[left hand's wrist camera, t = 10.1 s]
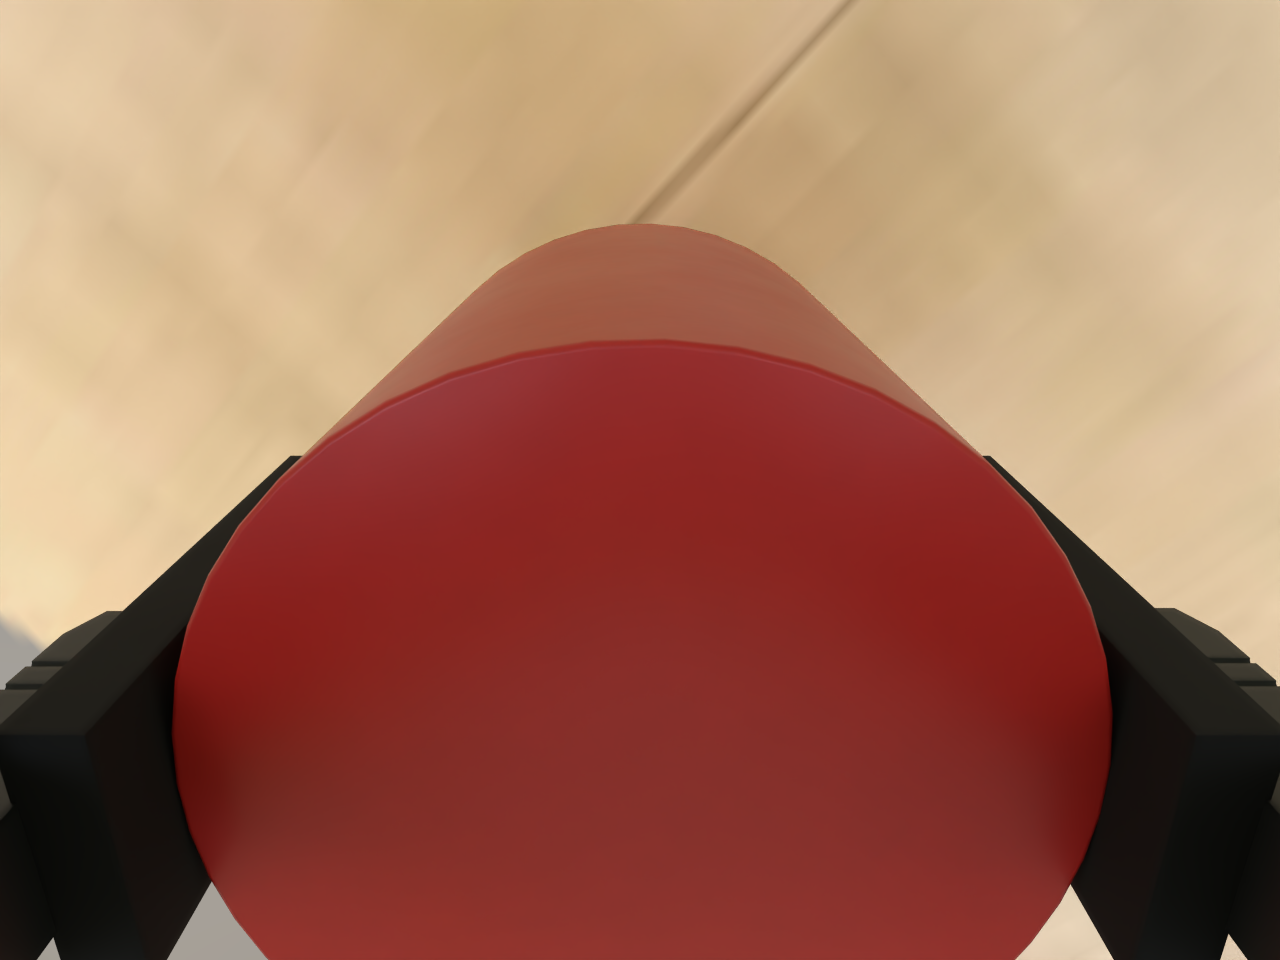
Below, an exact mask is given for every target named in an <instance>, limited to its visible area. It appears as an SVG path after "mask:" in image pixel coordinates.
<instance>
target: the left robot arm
mask: <svg viewBox="0 0 1280 960" xmlns="http://www.w3.org/2000/svg"><path fill="white" fill-rule="evenodd" d="M301 457H302V456H290V457H289V458H288V459H287V460H286V461H284V462H283V463H282V464H281V465H280V466H279V467H278V468H277V469H276V470H275V471H274V472H273V473H272V474H270V475H269V476H268V477H267V478H266V479H265V480H264V481H263V482H262V483H261V484H260V485H259V486H257V487H256V488H255V489H254V490H253V491H252V492H251V493H250V494H249V495H248V496H247V497H246V498H245V499H243V500H242V501H241V502H240V503H239V504H238V505H237V506H236V507H235V508H234V509H233V510H232V511H230V512H229V513H228V514H227V515H226V516H225V517H224V518H223V519H222V520H221V521H220V522H219V523H217V524H216V525H215V526H214V527H213V528H212V529H211V530H210V531H209V532H208V533H207V534H206V535H205V536H203V537H202V538H201V539H200V540H199V541H198V542H197V543H196V544H195V545H194V546H193V547H192V548H190V549H189V550H188V551H187V552H186V553H185V554H184V555H183V556H182V557H181V558H180V559H179V560H178V561H176V562H175V563H174V564H173V565H172V566H171V567H170V568H169V569H168V570H167V571H166V572H165V573H163V574H162V575H161V576H160V577H159V578H158V579H157V580H156V581H155V582H154V583H153V584H152V585H151V586H149V587H148V588H147V589H146V590H145V591H144V592H143V593H142V594H141V595H140V596H139V597H138V598H136V599H135V600H134V601H133V602H132V603H131V604H130V605H129V606H128V607H127V608H126V609H125V610H123V611H106V612H104V613H103V614H101V615H99V616H97V617H95V618H93V619H91V620H89V621H87V622H85V623H83V624H81V625H80V626H78V627H76V628H74V629H72V630H70V631H68V632H66V633H64V634H63V635H61V636H60V637H59V638H58V639H57V640H56V641H55V642H53V643H52V644H51V645H50V646H49V647H48V648H46V649H45V650H44V651H43V652H42V653H41V654H40V655H38V656H37V657H36V658H35V659H34V660H33V661H32V666H31V667H25V668H24V669H22V670H21V671H20V672H19V673H18V674H17V675H15V676H14V677H13V678H12V679H11V680H10V681H9V682H7V683H6V688H5V690H0V960H37V959H38V957H39V956H40V955H41V953H42V952H43V950H44V949H45V948H46V946H47V945H48V944H49V942H50V941H51V939H52V938H53V937H54V940H55V944H56V947H57V950H58V953H59V956H60V959H61V960H167V958H168V957H169V955H170V953H171V952H172V950H173V948H174V946H175V944H176V943H177V941H178V939H179V938H180V936H181V934H182V932H183V931H184V929H185V927H186V925H187V924H188V922H189V920H190V918H191V917H192V915H193V913H194V911H195V910H196V908H197V906H198V904H199V902H200V901H201V899H202V897H203V896H204V894H205V892H206V890H207V889H208V887H209V885H210V883H211V882H212V881H211V879H210V877H209V875H208V873H207V871H206V868H205V866H204V864H203V862H202V859H201V857H200V855H199V852H198V850H197V848H196V845H195V843H194V841H193V838H192V836H191V834H190V831H189V828H188V824H187V820H186V816H185V813H184V809H183V805H182V801H181V797H180V794H179V790H178V786H177V781H176V771H175V761H174V751H173V742H172V719H173V703H174V686H175V676H176V672H177V668H178V663H179V659H180V655H181V650H182V646H183V642H184V637H185V633H186V629H187V625H188V623H189V620H190V618H191V615H192V613H193V610H194V608H195V606H196V603H197V601H198V598H199V596H200V593H201V591H202V589H203V586H204V584H205V581H206V579H207V576H208V574H209V573H210V571H211V569H212V568H213V566H214V565H215V563H216V561H217V560H218V558H219V556H220V555H221V553H222V552H223V550H224V548H225V547H226V545H227V543H228V542H229V540H230V539H231V537H232V535H233V534H234V532H235V531H236V529H237V527H238V526H239V524H240V523H241V522H242V521H243V520H244V519H245V517H246V516H247V515H248V514H249V513H250V512H251V510H252V509H253V508H254V507H255V506H256V505H257V503H258V502H259V501H260V500H261V499H262V498H263V496H264V495H265V494H266V493H267V492H268V491H269V489H270V488H271V487H272V486H273V485H274V484H275V483H276V481H277V480H278V479H279V478H280V477H281V476H282V475H283V474H284V473H285V472H286V471H287V470H288V469H289V468H290V467H292V466H293V465H294V464H295V463H296V462H297V461H298V460H299V459H300V458H301ZM983 457H984V458H985V459H986V460H987V461H988V462H989V463H990V464H991V465H992V466H993V467H994V468H995V469H996V470H997V471H998V472H999V473H1000V474H1001V475H1002V476H1003V478H1004V479H1005V480H1006V481H1007V482H1008V483H1009V484H1010V485H1011V486H1012V487H1013V488H1014V489H1015V490H1016V491H1017V492H1018V493H1019V494H1020V495H1021V496H1022V497H1023V498H1024V499H1025V500H1026V501H1027V502H1028V503H1029V504H1030V505H1031V506H1032V508H1033V509H1034V511H1035V512H1036V513H1037V515H1038V516H1039V518H1040V519H1041V521H1042V522H1043V523H1044V525H1045V526H1046V528H1047V529H1048V530H1049V532H1050V533H1051V535H1052V536H1053V538H1054V539H1055V540H1056V542H1057V543H1058V545H1059V546H1060V547H1061V549H1062V550H1063V552H1064V553H1065V555H1066V556H1067V558H1068V561H1069V563H1070V565H1071V567H1072V569H1073V571H1074V573H1075V575H1076V577H1077V579H1078V581H1079V583H1080V585H1081V587H1082V589H1083V591H1084V593H1085V595H1086V597H1087V600H1088V602H1089V604H1090V606H1091V609H1092V612H1093V616H1094V619H1095V622H1096V626H1097V629H1098V633H1099V636H1100V639H1101V643H1102V646H1103V649H1104V653H1105V656H1106V662H1107V670H1108V678H1109V686H1110V694H1111V702H1112V710H1113V720H1112V744H1111V765H1110V770H1109V775H1108V780H1107V785H1106V790H1105V794H1104V799H1103V803H1102V807H1101V812H1100V816H1099V819H1098V822H1097V825H1096V827H1095V830H1094V833H1093V835H1092V838H1091V841H1090V844H1089V846H1088V849H1087V852H1086V855H1085V857H1084V860H1083V862H1082V863H1081V865H1080V867H1079V869H1078V871H1077V873H1076V875H1075V876H1074V878H1073V880H1072V882H1071V886H1072V887H1073V889H1074V891H1075V893H1076V894H1077V896H1078V898H1079V900H1080V901H1081V903H1082V905H1083V907H1084V908H1085V910H1086V912H1087V914H1088V915H1089V917H1090V919H1091V921H1092V922H1093V924H1094V926H1095V928H1096V929H1097V931H1098V933H1099V935H1100V936H1101V938H1102V940H1103V942H1104V943H1105V945H1106V947H1107V949H1108V950H1109V952H1110V954H1111V956H1112V957H1113V959H1114V960H1220V959H1221V955H1222V952H1223V949H1224V946H1225V943H1226V940H1227V937H1228V934H1229V935H1230V936H1231V938H1232V939H1233V940H1234V942H1235V943H1236V945H1237V946H1238V947H1239V949H1240V950H1241V951H1242V953H1243V954H1244V955H1245V957H1246V958H1247V960H1280V686H1277V685H1276V680H1275V679H1274V678H1273V677H1271V676H1270V675H1269V674H1268V673H1267V672H1266V671H1264V670H1263V669H1262V668H1261V667H1260V666H1259V665H1257V664H1256V663H1250V658H1249V657H1248V656H1247V655H1246V654H1245V653H1244V652H1242V651H1241V650H1240V649H1239V648H1238V647H1237V646H1235V645H1234V644H1233V643H1232V642H1231V641H1230V640H1228V639H1227V638H1226V637H1225V636H1224V635H1223V634H1221V633H1220V632H1219V631H1218V630H1216V629H1214V628H1212V627H1210V626H1208V625H1206V624H1204V623H1202V622H1200V621H1198V620H1196V619H1194V618H1193V617H1191V616H1189V615H1187V614H1185V613H1183V612H1181V611H1179V610H1177V609H1175V608H1154V607H1153V606H1152V605H1151V604H1150V603H1149V602H1147V601H1146V600H1145V599H1144V598H1143V597H1142V596H1141V595H1140V594H1139V593H1138V592H1137V591H1136V590H1134V589H1133V588H1132V587H1131V586H1130V585H1129V584H1128V583H1127V582H1126V581H1125V580H1124V579H1123V578H1122V577H1120V576H1119V575H1118V574H1117V573H1116V572H1115V571H1114V570H1113V569H1112V568H1111V567H1110V566H1109V565H1107V564H1106V563H1105V562H1104V561H1103V560H1102V559H1101V558H1100V557H1099V556H1098V555H1097V554H1096V553H1094V552H1093V551H1092V550H1091V549H1090V548H1089V547H1088V546H1087V545H1086V544H1085V543H1084V542H1083V541H1082V540H1080V539H1079V538H1078V537H1077V536H1076V535H1075V534H1074V533H1073V532H1072V531H1071V530H1070V529H1069V528H1067V527H1066V526H1065V525H1064V524H1063V523H1062V522H1061V521H1060V520H1059V519H1058V518H1057V517H1056V516H1055V515H1053V514H1052V513H1051V512H1050V511H1049V510H1048V509H1047V508H1046V507H1045V506H1044V505H1043V504H1042V503H1040V502H1039V501H1038V500H1037V499H1036V498H1035V497H1034V496H1033V495H1032V494H1031V493H1030V492H1029V491H1027V490H1026V489H1025V488H1024V487H1023V486H1022V485H1021V484H1020V483H1019V482H1018V481H1017V480H1016V479H1015V478H1013V477H1012V476H1011V475H1010V474H1009V473H1008V472H1007V471H1006V470H1005V469H1004V468H1003V467H1002V466H1000V465H999V464H998V463H997V462H996V461H995V460H994V459H993V458H992V457H991V456H983Z"/></svg>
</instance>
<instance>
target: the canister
mask: <svg viewBox="0 0 1280 960" xmlns="http://www.w3.org/2000/svg"><path fill="white" fill-rule="evenodd" d="M1112 720H1113V710H1112V702H1111V694H1110V686H1109V678H1108V670H1107V662H1106V656H1105V653H1104V649H1103V646H1102V643H1101V639H1100V636H1099V633H1098V629H1097V626H1096V622H1095V619H1094V616H1093V612H1092V609H1091V606H1090V604H1089V602H1088V600H1087V597H1086V595H1085V593H1084V591H1083V589H1082V587H1081V585H1080V583H1079V581H1078V579H1077V577H1076V575H1075V573H1074V571H1073V569H1072V567H1071V565H1070V563H1069V561H1068V558H1067V556H1066V555H1065V553H1064V552H1063V550H1062V549H1061V547H1060V546H1059V545H1058V543H1057V542H1056V540H1055V539H1054V538H1053V536H1052V535H1051V533H1050V532H1049V530H1048V529H1047V528H1046V526H1045V525H1044V523H1043V522H1042V521H1041V519H1040V518H1039V516H1038V515H1037V513H1036V512H1035V511H1034V509H1033V508H1032V506H1031V505H1030V504H1029V503H1028V502H1027V501H1026V500H1025V499H1024V498H1023V497H1022V496H1021V495H1020V494H1019V493H1018V492H1017V491H1016V490H1015V489H1014V488H1013V487H1012V486H1011V485H1010V484H1009V483H1008V482H1007V481H1006V480H1005V479H1004V478H1003V476H1002V475H1001V474H1000V473H999V472H998V471H997V470H996V469H995V468H994V467H993V466H992V465H991V464H990V463H989V462H988V461H987V460H986V459H985V458H984V457H983V456H982V455H981V454H980V453H978V452H977V451H976V450H975V449H974V448H973V447H972V446H971V445H970V444H969V443H968V442H967V441H966V440H965V439H964V438H963V437H962V436H960V435H959V434H958V433H957V432H956V431H955V430H954V429H953V428H952V427H951V426H950V425H949V424H948V423H947V422H946V421H945V420H944V419H943V418H941V417H940V416H939V415H938V414H937V413H936V412H935V411H934V410H933V409H932V408H931V407H930V406H929V405H928V404H927V403H926V402H925V401H923V400H922V399H921V398H920V397H919V396H918V395H917V394H916V393H915V392H914V391H913V390H912V389H911V388H910V387H909V386H908V385H907V384H906V383H904V382H903V381H902V380H901V379H900V378H899V377H898V376H897V375H896V374H895V373H894V372H893V371H892V370H891V369H890V368H889V367H888V366H886V365H885V364H884V363H883V362H882V361H881V360H880V359H879V358H878V357H877V356H876V355H875V354H874V353H873V352H872V351H871V350H870V349H869V348H867V347H866V346H865V345H864V344H863V343H862V342H861V341H860V340H859V339H858V338H857V337H856V336H855V335H854V334H853V333H852V332H851V331H849V330H848V329H847V328H846V327H845V326H844V325H843V324H842V323H841V322H840V321H839V320H838V319H837V318H836V317H835V316H834V315H833V314H832V313H830V312H829V311H828V310H827V309H826V308H825V307H824V306H823V305H822V304H821V303H820V302H819V301H818V300H817V299H816V298H815V297H814V296H812V295H811V294H810V293H809V292H808V291H807V290H806V289H805V288H804V287H803V286H802V285H801V284H800V283H799V282H797V281H796V280H795V279H793V278H792V277H791V276H790V275H788V274H787V273H786V272H784V271H783V270H782V269H781V268H779V267H778V266H777V265H775V264H774V263H772V262H771V261H769V260H767V259H765V258H764V257H762V256H760V255H758V254H757V253H755V252H753V251H751V250H750V249H748V248H746V247H744V246H741V245H739V244H736V243H734V242H731V241H729V240H726V239H724V238H721V237H719V236H716V235H712V234H708V233H704V232H700V231H696V230H692V229H688V228H684V227H675V226H666V225H657V224H628V225H614V226H608V227H602V228H595V229H589V230H584V231H581V232H578V233H575V234H571V235H568V236H565V237H562V238H558V239H555V240H553V241H551V242H549V243H546V244H544V245H542V246H540V247H538V248H536V249H533V250H531V251H529V252H527V253H525V254H523V255H522V256H520V257H519V258H517V259H516V260H514V261H513V262H511V263H509V264H508V265H506V266H505V267H503V268H502V269H500V270H499V271H497V272H496V273H495V274H494V275H493V276H492V277H490V278H489V279H488V280H487V281H486V282H485V283H483V284H482V285H481V286H480V287H479V288H478V289H476V290H475V291H474V292H473V293H472V294H471V295H470V296H469V297H468V298H467V299H466V300H465V301H464V302H463V303H462V304H461V305H460V306H459V307H458V308H456V309H455V310H454V311H453V312H452V313H451V314H450V315H449V316H448V317H447V318H446V319H445V320H444V321H443V322H442V323H441V324H440V325H439V326H438V327H437V328H436V329H435V330H433V331H432V332H431V333H430V334H429V335H428V336H427V337H426V338H425V339H424V340H423V341H422V342H421V343H420V344H419V345H418V346H417V347H416V348H415V349H414V350H413V351H412V352H411V353H409V354H408V355H407V356H406V357H405V358H404V359H403V360H402V361H401V362H400V363H399V364H398V365H397V366H396V367H395V368H394V369H393V370H392V371H391V372H390V373H389V374H388V375H387V376H385V377H384V378H383V379H382V380H381V381H380V382H379V383H378V384H377V385H376V386H375V387H374V388H373V389H372V390H371V391H370V392H369V393H368V394H367V395H366V396H365V397H364V398H363V399H361V400H360V401H359V402H358V403H357V404H356V405H355V406H354V407H353V408H352V409H351V410H350V411H349V412H348V413H347V414H346V415H345V416H344V417H343V418H342V419H341V420H340V421H338V422H337V423H336V424H335V425H334V426H333V427H332V428H331V429H330V430H329V431H328V432H327V433H326V434H325V435H324V436H323V437H322V438H321V439H320V440H319V441H318V442H317V443H316V444H314V445H313V446H312V447H311V448H310V449H309V450H308V451H307V452H306V453H305V454H304V455H303V456H302V457H301V458H300V459H299V460H298V461H297V462H296V463H295V464H294V465H293V466H292V467H290V468H289V469H288V470H287V471H286V472H285V473H284V474H283V475H282V476H281V477H280V478H279V479H278V480H277V481H276V483H275V484H274V485H273V486H272V487H271V488H270V489H269V491H268V492H267V493H266V494H265V495H264V496H263V498H262V499H261V500H260V501H259V502H258V503H257V505H256V506H255V507H254V508H253V509H252V510H251V512H250V513H249V514H248V515H247V516H246V517H245V519H244V520H243V521H242V522H241V523H240V524H239V526H238V527H237V529H236V531H235V532H234V534H233V535H232V537H231V539H230V540H229V542H228V543H227V545H226V547H225V548H224V550H223V552H222V553H221V555H220V556H219V558H218V560H217V561H216V563H215V565H214V566H213V568H212V569H211V571H210V573H209V574H208V576H207V579H206V581H205V584H204V586H203V589H202V591H201V593H200V596H199V598H198V601H197V603H196V606H195V608H194V610H193V613H192V615H191V618H190V620H189V623H188V625H187V629H186V633H185V637H184V642H183V646H182V650H181V655H180V659H179V663H178V668H177V672H176V676H175V686H174V703H173V719H172V742H173V751H174V761H175V771H176V781H177V786H178V790H179V794H180V797H181V801H182V805H183V809H184V813H185V816H186V820H187V824H188V828H189V831H190V834H191V836H192V838H193V841H194V843H195V845H196V848H197V850H198V852H199V855H200V857H201V859H202V862H203V864H204V866H205V868H206V871H207V873H208V875H209V877H210V879H211V881H212V882H213V884H214V886H215V887H216V889H217V891H218V892H219V894H220V895H221V897H222V899H223V900H224V902H225V904H226V905H227V907H228V909H229V910H230V912H231V913H232V915H233V917H234V918H235V920H236V921H237V922H238V923H239V925H240V926H241V927H242V928H243V930H244V931H245V932H246V933H247V934H248V936H249V937H250V938H251V939H252V941H253V942H254V943H255V944H256V946H257V947H258V948H259V949H260V951H261V952H262V953H263V954H264V956H265V957H266V958H267V959H268V960H1015V959H1016V958H1017V957H1018V956H1019V955H1020V954H1021V953H1022V952H1023V951H1024V950H1025V949H1026V947H1027V946H1028V945H1029V944H1030V943H1031V942H1032V941H1033V939H1034V938H1035V937H1036V935H1037V934H1038V933H1039V931H1040V930H1041V928H1042V927H1043V926H1044V924H1045V923H1046V922H1047V920H1048V919H1049V917H1050V916H1051V915H1052V913H1053V912H1054V911H1055V909H1056V908H1057V907H1058V905H1059V904H1060V902H1061V900H1062V899H1063V897H1064V895H1065V893H1066V891H1067V889H1068V887H1069V886H1070V884H1071V882H1072V880H1073V878H1074V876H1075V875H1076V873H1077V871H1078V869H1079V867H1080V865H1081V863H1082V862H1083V860H1084V857H1085V855H1086V852H1087V849H1088V846H1089V844H1090V841H1091V838H1092V835H1093V833H1094V830H1095V827H1096V825H1097V822H1098V819H1099V816H1100V812H1101V807H1102V803H1103V799H1104V794H1105V790H1106V785H1107V780H1108V775H1109V770H1110V765H1111V744H1112Z"/></svg>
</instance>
